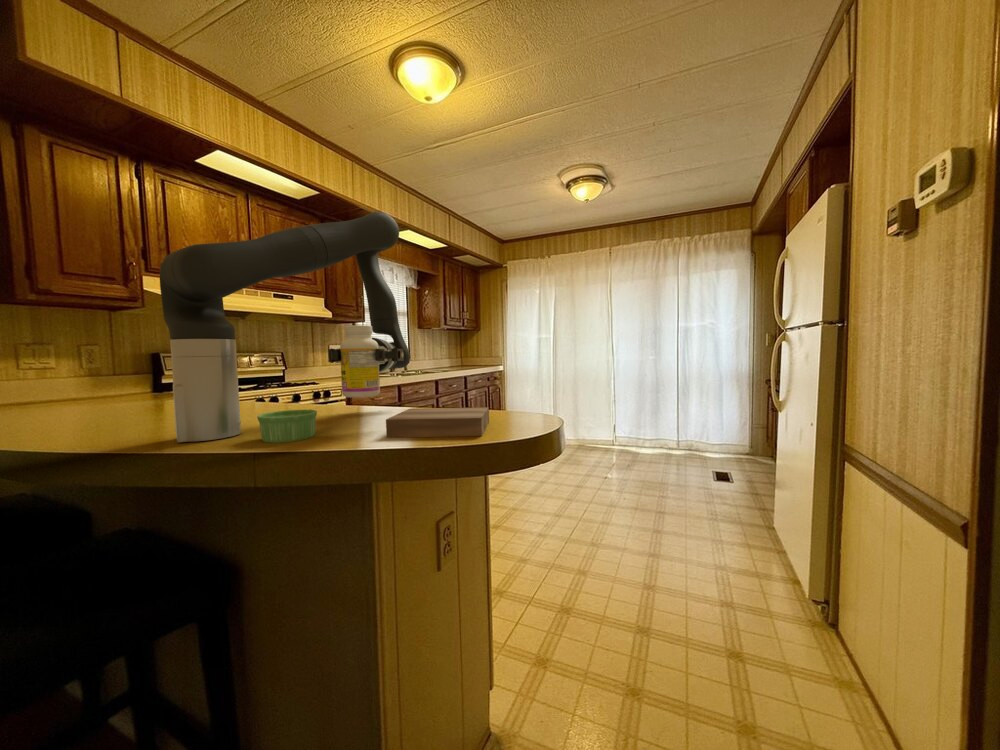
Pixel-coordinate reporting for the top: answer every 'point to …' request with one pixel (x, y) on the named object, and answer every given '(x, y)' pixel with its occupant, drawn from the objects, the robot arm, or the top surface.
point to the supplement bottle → (359, 363)
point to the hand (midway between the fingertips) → (356, 355)
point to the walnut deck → (438, 422)
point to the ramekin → (287, 425)
